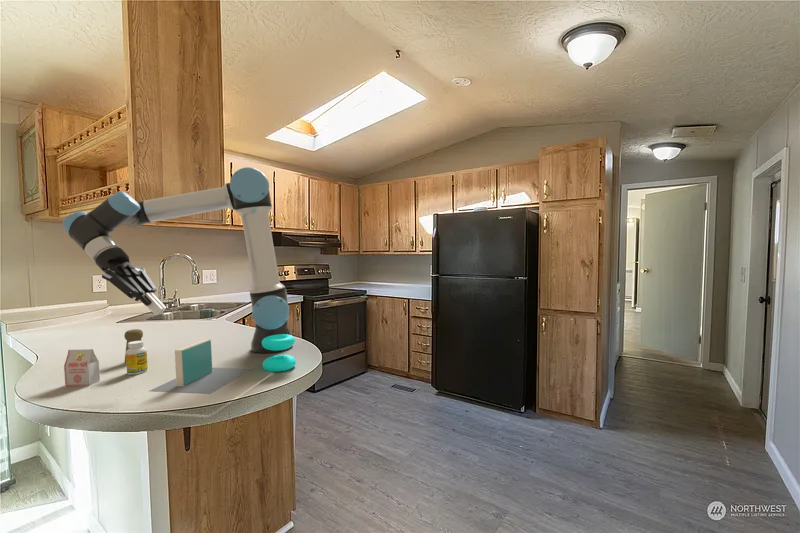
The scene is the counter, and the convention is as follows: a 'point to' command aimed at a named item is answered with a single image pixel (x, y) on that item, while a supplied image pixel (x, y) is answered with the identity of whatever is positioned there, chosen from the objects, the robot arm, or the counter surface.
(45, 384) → the counter surface
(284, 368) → the donuts
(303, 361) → the counter surface
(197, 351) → the tile
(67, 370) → the white gable carton
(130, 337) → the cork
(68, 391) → the counter surface
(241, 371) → the mat
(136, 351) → the supplement bottle
